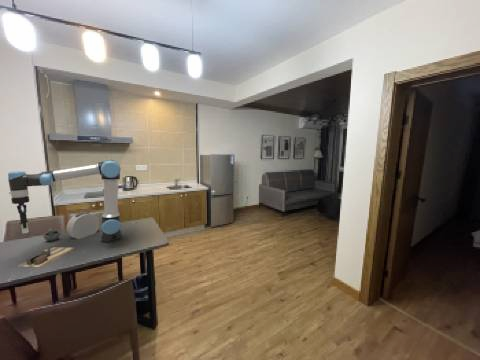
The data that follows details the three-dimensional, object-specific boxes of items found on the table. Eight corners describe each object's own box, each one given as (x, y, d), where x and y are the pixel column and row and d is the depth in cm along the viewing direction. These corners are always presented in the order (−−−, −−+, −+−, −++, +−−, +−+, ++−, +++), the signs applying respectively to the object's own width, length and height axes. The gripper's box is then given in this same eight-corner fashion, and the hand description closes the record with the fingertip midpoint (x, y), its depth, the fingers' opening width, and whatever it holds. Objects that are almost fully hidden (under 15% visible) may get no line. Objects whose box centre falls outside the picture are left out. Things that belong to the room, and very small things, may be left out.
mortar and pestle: (45, 240, 164) (43, 226, 162) (61, 237, 169) (59, 223, 168) (43, 246, 155) (41, 230, 153) (60, 242, 161) (58, 228, 159)
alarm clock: (94, 230, 186) (92, 209, 183) (99, 231, 183) (98, 210, 181) (67, 239, 166) (64, 215, 164) (73, 241, 164) (70, 217, 161)
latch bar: (46, 253, 141) (46, 248, 141) (52, 254, 141) (51, 248, 140) (25, 264, 128) (25, 258, 128) (31, 264, 128) (31, 258, 127)
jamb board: (75, 249, 151) (75, 243, 150) (43, 268, 126) (42, 261, 126) (54, 248, 151) (53, 242, 151) (17, 268, 126) (16, 260, 126)
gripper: (10, 195, 129) (16, 231, 133) (11, 199, 121) (17, 237, 125) (27, 193, 135) (32, 228, 139) (29, 197, 127) (35, 233, 130)
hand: (25, 232), depth 132 cm, fingers closed
